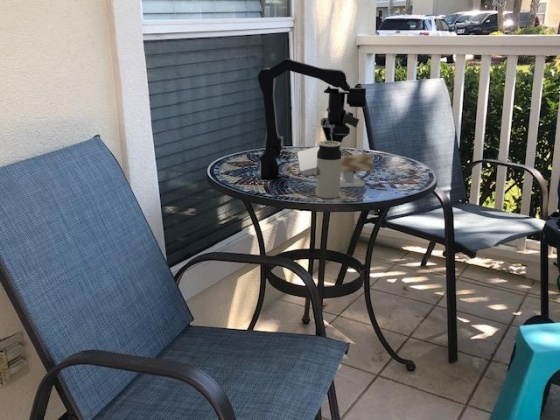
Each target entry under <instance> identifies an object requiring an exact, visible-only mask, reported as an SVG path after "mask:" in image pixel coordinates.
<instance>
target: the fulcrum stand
mask: <svg viewBox="0 0 560 420" xmlns="http://www.w3.org/2000/svg"><path fill="white" fill-rule="evenodd" d="M365 185H366V184H365V182H364V181H363V180H361V179H360V178H359V177H358V176H356V174H355V173H354V171H347V172H341V173H340V188H345V187H346V188H348V187H350V188H351V187H365Z"/></svg>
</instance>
